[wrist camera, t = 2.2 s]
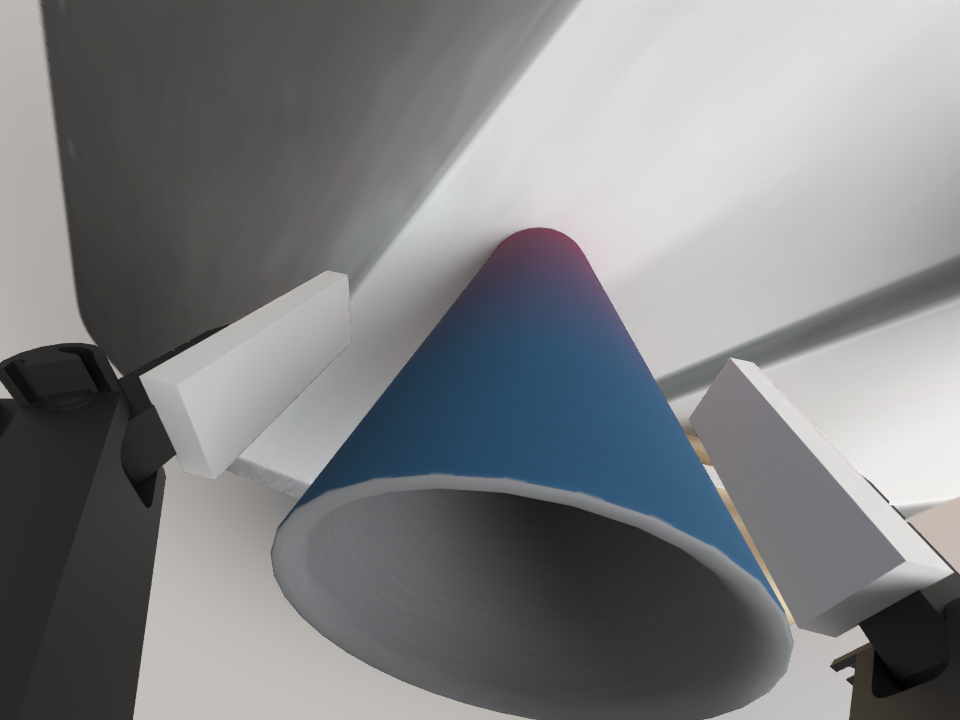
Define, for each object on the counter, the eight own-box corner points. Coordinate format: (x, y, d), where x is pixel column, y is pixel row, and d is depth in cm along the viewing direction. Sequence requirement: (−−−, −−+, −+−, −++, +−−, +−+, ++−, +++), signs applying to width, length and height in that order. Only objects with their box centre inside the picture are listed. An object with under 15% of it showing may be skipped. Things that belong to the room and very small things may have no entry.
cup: (472, 335, 20) (336, 675, 7) (466, 206, 16) (173, 438, 4) (596, 343, 19) (689, 757, 6) (620, 206, 15) (970, 539, 3)
